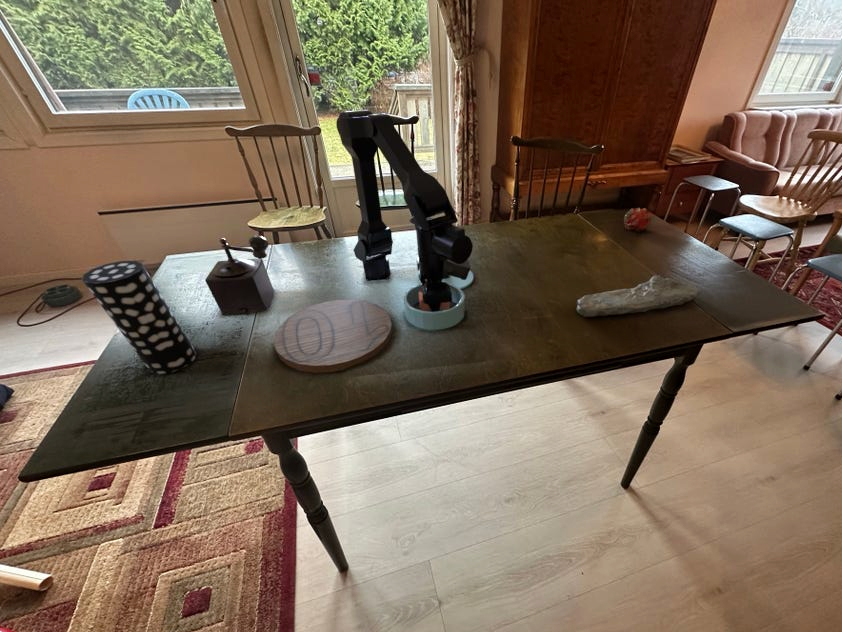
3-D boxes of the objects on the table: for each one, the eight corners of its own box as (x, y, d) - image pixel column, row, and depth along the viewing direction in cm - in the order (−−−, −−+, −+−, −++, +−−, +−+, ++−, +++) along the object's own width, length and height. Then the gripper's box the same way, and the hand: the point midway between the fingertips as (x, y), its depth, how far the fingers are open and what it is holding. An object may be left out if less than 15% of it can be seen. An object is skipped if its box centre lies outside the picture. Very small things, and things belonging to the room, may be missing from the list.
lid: (421, 295, 98) (419, 278, 95) (416, 269, 110) (415, 252, 107) (478, 291, 101) (478, 273, 98) (468, 265, 112) (468, 249, 109)
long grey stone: (566, 307, 98) (585, 330, 91) (569, 290, 94) (589, 312, 88) (679, 284, 105) (704, 303, 98) (686, 267, 101) (712, 286, 95)
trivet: (376, 297, 97) (375, 291, 96) (407, 352, 80) (406, 345, 79) (271, 320, 88) (269, 314, 87) (282, 387, 71) (279, 380, 70)
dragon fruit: (617, 235, 137) (641, 235, 142) (635, 228, 129) (660, 228, 134) (616, 211, 137) (640, 212, 141) (634, 203, 129) (659, 204, 134)
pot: (407, 334, 85) (405, 316, 82) (404, 301, 96) (402, 284, 93) (469, 328, 88) (469, 310, 85) (459, 296, 98) (459, 279, 95)
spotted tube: (163, 348, 80) (103, 261, 67) (204, 347, 80) (153, 260, 67) (139, 374, 73) (68, 283, 60) (184, 373, 74) (123, 282, 61)
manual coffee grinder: (220, 317, 89) (182, 244, 77) (232, 294, 97) (199, 225, 85) (289, 310, 92) (263, 239, 80) (295, 288, 100) (272, 221, 88)
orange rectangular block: (421, 318, 90) (419, 300, 86) (420, 309, 93) (418, 291, 89) (450, 315, 91) (449, 297, 87) (448, 306, 94) (447, 289, 90)
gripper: (475, 264, 75) (474, 327, 85) (460, 229, 89) (461, 287, 99) (420, 268, 73) (425, 332, 84) (413, 232, 87) (419, 290, 97)
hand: (435, 308), depth 91 cm, fingers open, 4 cm apart
